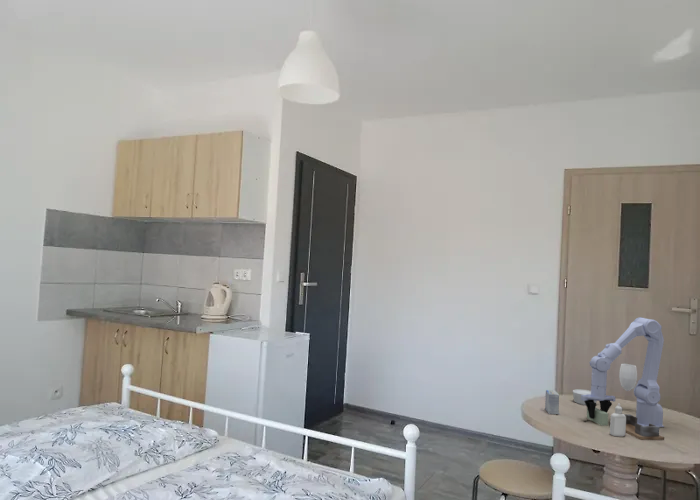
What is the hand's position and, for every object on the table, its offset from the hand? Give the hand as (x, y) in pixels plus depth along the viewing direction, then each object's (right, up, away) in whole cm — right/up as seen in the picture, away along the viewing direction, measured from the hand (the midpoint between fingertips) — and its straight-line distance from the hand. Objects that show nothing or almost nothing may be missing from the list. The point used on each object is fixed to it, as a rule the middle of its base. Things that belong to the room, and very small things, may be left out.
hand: (597, 418), depth 218 cm
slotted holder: (+10, -2, -12) cm, 15 cm away
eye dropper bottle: (0, -1, -17) cm, 17 cm away
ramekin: (+8, -3, +31) cm, 32 cm away
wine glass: (+23, -3, +21) cm, 31 cm away
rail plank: (0, -2, 0) cm, 2 cm away
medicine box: (-15, -1, +11) cm, 18 cm away
